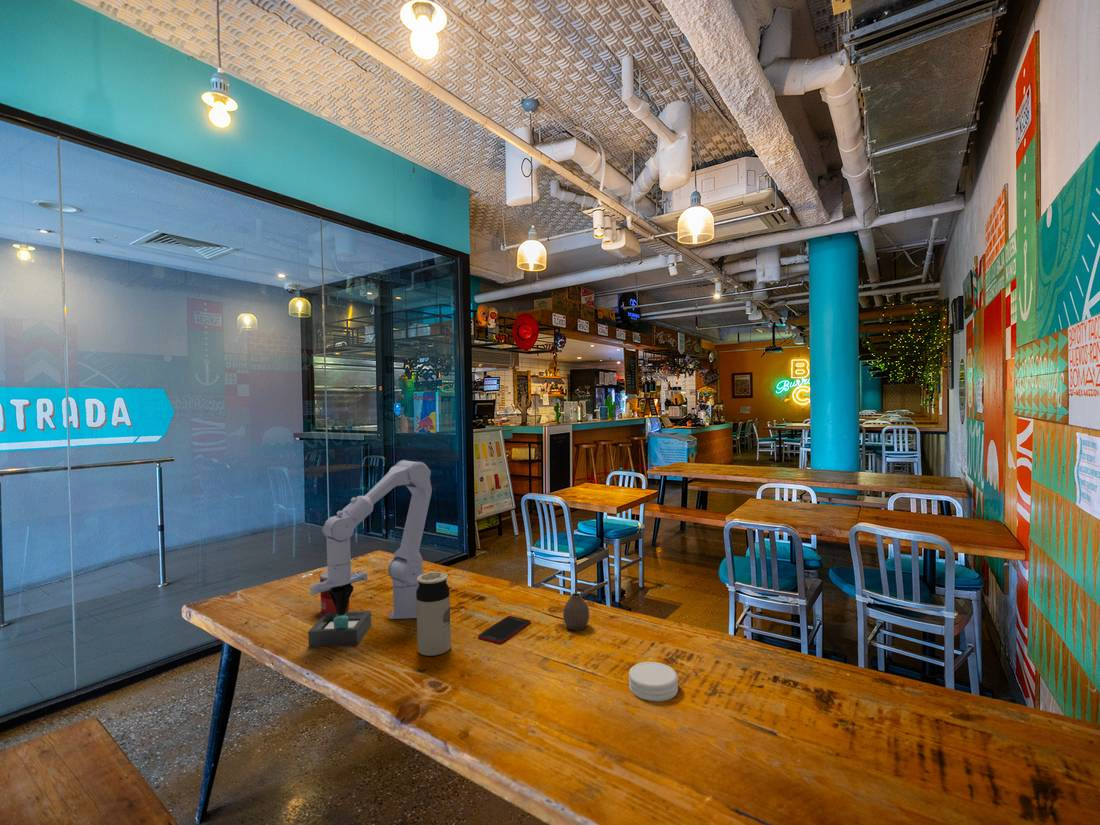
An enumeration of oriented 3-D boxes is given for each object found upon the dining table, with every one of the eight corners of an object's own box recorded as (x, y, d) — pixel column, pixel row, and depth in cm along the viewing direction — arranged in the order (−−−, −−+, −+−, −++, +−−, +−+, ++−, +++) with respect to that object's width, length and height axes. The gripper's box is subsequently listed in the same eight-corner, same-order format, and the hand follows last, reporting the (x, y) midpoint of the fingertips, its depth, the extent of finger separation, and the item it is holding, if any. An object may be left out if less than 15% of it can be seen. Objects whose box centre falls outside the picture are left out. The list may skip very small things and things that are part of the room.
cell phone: (476, 640, 133) (476, 636, 133) (508, 618, 146) (508, 615, 146) (501, 646, 129) (500, 642, 129) (532, 624, 142) (532, 620, 142)
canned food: (343, 615, 150) (342, 577, 150) (316, 615, 151) (314, 577, 150) (353, 604, 158) (352, 568, 158) (327, 605, 158) (326, 569, 158)
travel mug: (410, 652, 126) (408, 579, 126) (432, 639, 133) (430, 569, 133) (436, 659, 123) (434, 583, 122) (457, 645, 130) (455, 573, 129)
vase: (589, 622, 142) (589, 590, 142) (589, 633, 135) (588, 599, 135) (564, 621, 142) (563, 589, 142) (562, 632, 136) (561, 599, 135)
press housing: (371, 625, 143) (370, 610, 143) (357, 645, 131) (356, 629, 131) (326, 627, 142) (326, 612, 142) (308, 647, 130) (308, 631, 130)
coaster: (641, 706, 102) (641, 689, 102) (621, 680, 112) (621, 664, 112) (687, 698, 105) (686, 680, 105) (663, 673, 114) (663, 657, 114)
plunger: (363, 623, 141) (363, 611, 141) (352, 638, 133) (352, 624, 132) (330, 625, 141) (330, 612, 141) (317, 639, 132) (317, 626, 132)
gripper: (357, 553, 144) (359, 602, 145) (304, 566, 134) (306, 618, 134) (370, 558, 140) (372, 608, 140) (316, 572, 129) (318, 626, 129)
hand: (341, 614), depth 137 cm, fingers closed
